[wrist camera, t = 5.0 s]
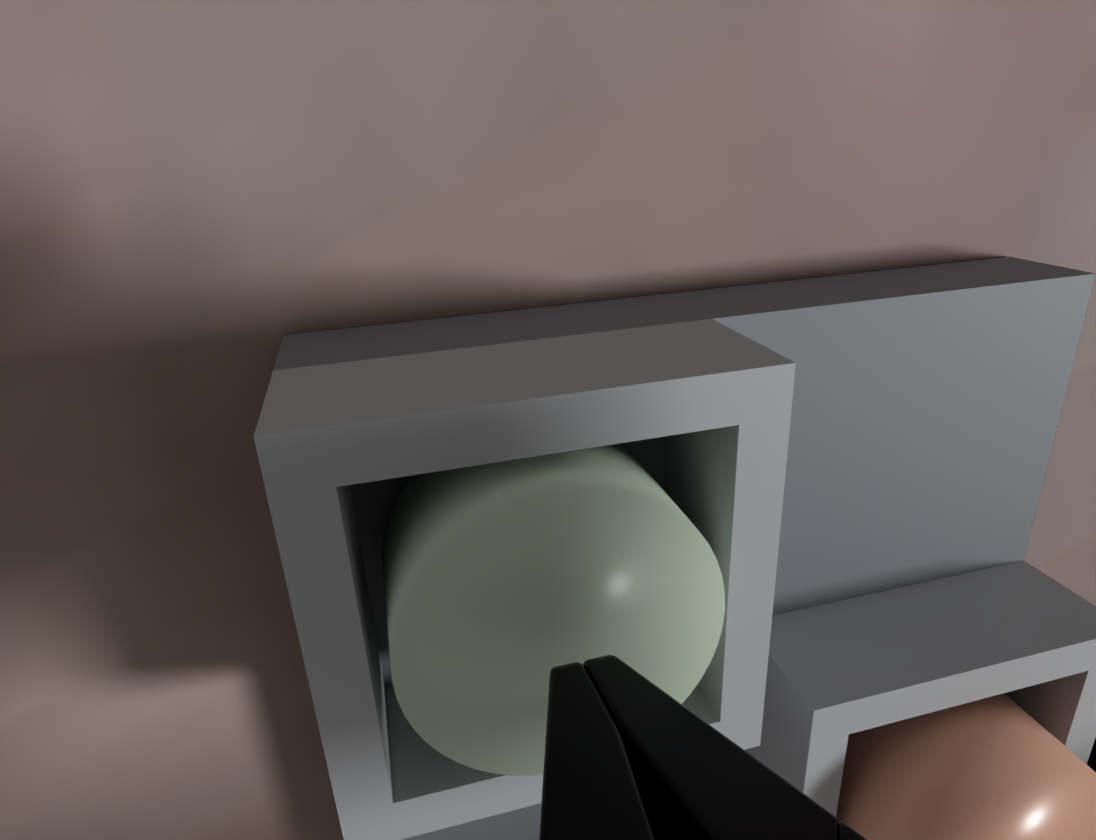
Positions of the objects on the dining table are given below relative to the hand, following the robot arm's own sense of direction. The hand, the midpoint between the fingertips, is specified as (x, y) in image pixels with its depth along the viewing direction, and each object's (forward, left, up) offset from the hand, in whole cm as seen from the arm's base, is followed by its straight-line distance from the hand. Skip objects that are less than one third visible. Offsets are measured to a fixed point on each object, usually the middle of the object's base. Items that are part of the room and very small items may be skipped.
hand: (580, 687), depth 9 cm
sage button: (0, 0, -3) cm, 3 cm away
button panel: (-4, +7, -6) cm, 10 cm away
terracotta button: (-8, +7, -2) cm, 11 cm away
